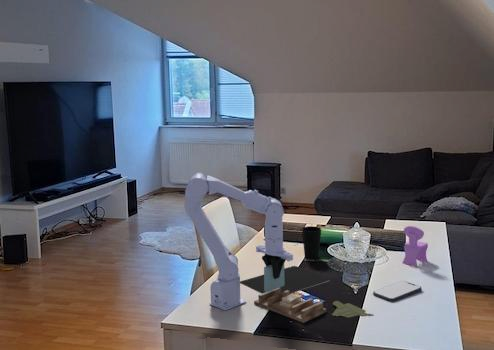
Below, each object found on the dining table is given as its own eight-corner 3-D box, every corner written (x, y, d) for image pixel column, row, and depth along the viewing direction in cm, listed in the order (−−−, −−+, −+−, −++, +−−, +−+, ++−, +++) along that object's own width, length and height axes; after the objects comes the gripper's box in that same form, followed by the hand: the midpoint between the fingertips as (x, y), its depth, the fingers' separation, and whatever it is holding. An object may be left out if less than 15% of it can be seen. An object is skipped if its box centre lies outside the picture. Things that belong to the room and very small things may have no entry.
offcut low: (290, 309, 181) (290, 305, 181) (279, 305, 184) (279, 301, 184) (302, 303, 185) (302, 300, 185) (292, 300, 188) (292, 296, 188)
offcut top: (290, 304, 182) (290, 300, 181) (282, 301, 184) (282, 297, 184) (300, 299, 185) (300, 296, 185) (292, 296, 188) (292, 293, 187)
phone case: (392, 304, 187) (423, 291, 196) (392, 299, 187) (423, 287, 196) (371, 296, 194) (402, 284, 203) (371, 291, 194) (402, 280, 203)
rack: (303, 322, 173) (303, 313, 173) (254, 303, 188) (254, 295, 188) (326, 311, 181) (326, 302, 180) (277, 294, 196) (277, 286, 195)
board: (267, 292, 186) (267, 268, 184) (264, 290, 187) (264, 267, 185) (284, 285, 191) (284, 262, 190) (281, 284, 192) (280, 261, 191)
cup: (316, 261, 228) (316, 232, 226) (298, 258, 232) (298, 230, 230) (324, 256, 235) (324, 227, 232) (307, 253, 239) (307, 225, 236)
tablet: (295, 265, 224) (331, 279, 208) (295, 267, 224) (331, 281, 208) (238, 282, 208) (273, 298, 192) (238, 283, 208) (273, 300, 192)
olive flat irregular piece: (360, 329, 169) (360, 326, 168) (318, 310, 183) (318, 307, 183) (385, 319, 175) (385, 316, 175) (342, 301, 189) (342, 298, 189)
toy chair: (430, 261, 226) (431, 224, 223) (419, 267, 220) (420, 229, 217) (410, 257, 232) (411, 220, 229) (399, 262, 225) (400, 225, 223)
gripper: (299, 238, 184) (299, 279, 186) (266, 230, 194) (266, 269, 196) (284, 243, 179) (284, 285, 181) (251, 234, 189) (252, 274, 191)
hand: (274, 277), depth 188 cm, fingers closed on board, 1 cm apart
